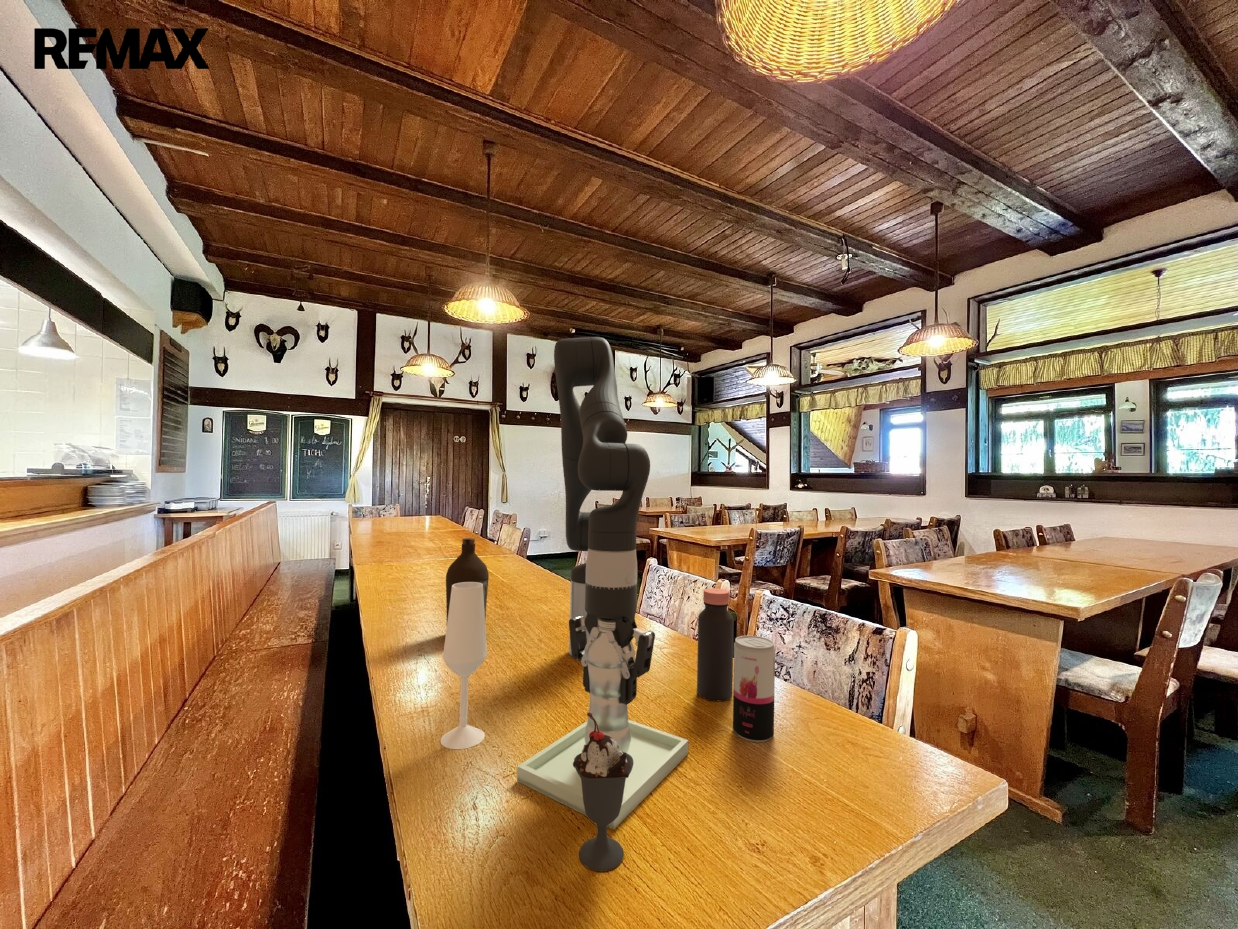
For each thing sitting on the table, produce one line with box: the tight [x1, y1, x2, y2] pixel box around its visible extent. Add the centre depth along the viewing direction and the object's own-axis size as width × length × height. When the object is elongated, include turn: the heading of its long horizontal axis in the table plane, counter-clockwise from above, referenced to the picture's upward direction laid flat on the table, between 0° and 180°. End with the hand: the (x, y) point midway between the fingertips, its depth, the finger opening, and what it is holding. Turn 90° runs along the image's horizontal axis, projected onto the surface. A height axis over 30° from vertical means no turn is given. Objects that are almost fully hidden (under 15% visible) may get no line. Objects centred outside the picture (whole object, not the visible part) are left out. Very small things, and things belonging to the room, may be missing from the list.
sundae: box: [573, 711, 634, 872], centre depth 55 cm, size 7×7×15 cm
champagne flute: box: [440, 582, 488, 750], centre depth 79 cm, size 7×7×24 cm
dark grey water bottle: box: [696, 587, 735, 702], centre depth 97 cm, size 7×7×20 cm
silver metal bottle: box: [585, 617, 631, 753], centre depth 72 cm, size 6×7×20 cm
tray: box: [516, 719, 689, 830], centre depth 71 cm, size 20×16×2 cm
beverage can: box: [732, 635, 776, 743], centre depth 82 cm, size 7×6×15 cm
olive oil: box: [445, 537, 489, 622], centre depth 128 cm, size 11×11×25 cm
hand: (608, 696), depth 72 cm, fingers closed on silver metal bottle, 6 cm apart
